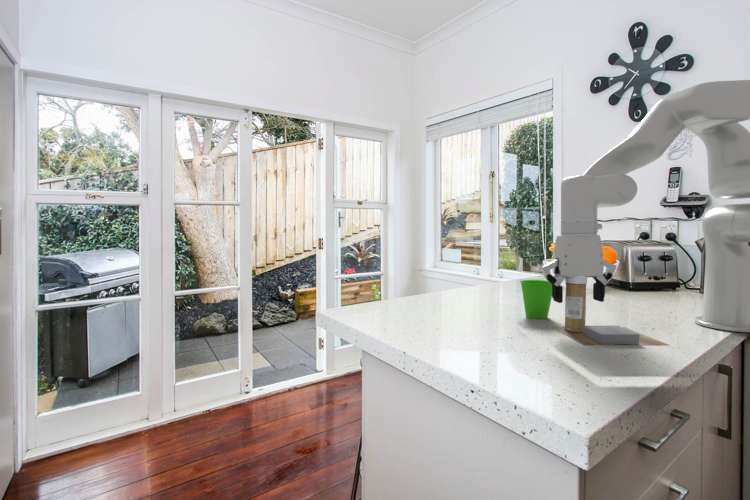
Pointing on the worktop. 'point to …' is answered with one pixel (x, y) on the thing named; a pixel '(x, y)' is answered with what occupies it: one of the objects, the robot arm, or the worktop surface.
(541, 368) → the worktop surface
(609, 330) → the tile
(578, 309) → the sprinkles bottle
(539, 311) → the cup
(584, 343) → the board
